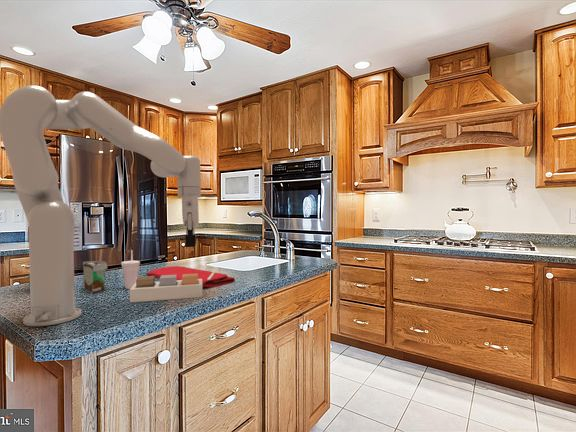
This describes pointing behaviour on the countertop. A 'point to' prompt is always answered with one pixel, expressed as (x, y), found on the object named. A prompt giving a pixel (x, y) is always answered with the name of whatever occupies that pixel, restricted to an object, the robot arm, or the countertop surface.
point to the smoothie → (130, 271)
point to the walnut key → (145, 281)
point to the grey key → (168, 280)
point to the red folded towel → (207, 277)
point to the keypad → (166, 292)
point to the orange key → (189, 279)
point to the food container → (94, 276)
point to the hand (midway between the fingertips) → (190, 246)
